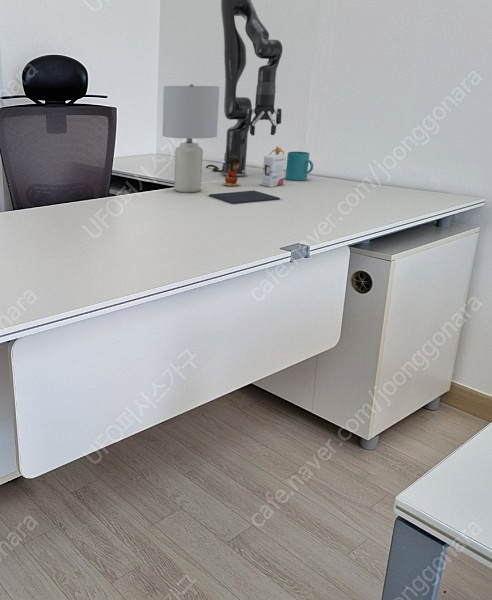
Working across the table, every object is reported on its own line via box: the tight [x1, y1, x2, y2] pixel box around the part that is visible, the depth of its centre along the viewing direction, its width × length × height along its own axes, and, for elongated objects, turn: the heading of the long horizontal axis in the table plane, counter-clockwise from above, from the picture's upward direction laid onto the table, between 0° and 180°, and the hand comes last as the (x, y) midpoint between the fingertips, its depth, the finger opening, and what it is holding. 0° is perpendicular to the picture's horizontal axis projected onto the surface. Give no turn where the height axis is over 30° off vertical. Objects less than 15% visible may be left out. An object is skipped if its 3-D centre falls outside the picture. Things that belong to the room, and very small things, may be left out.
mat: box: [208, 190, 281, 205], centre depth 217 cm, size 16×20×1 cm
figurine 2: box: [268, 146, 285, 156], centre depth 270 cm, size 8×6×12 cm
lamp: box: [162, 83, 220, 193], centre depth 223 cm, size 20×20×39 cm
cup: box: [284, 151, 314, 182], centre depth 253 cm, size 9×12×11 cm
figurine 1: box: [224, 155, 241, 187], centre depth 239 cm, size 6×6×12 cm
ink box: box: [261, 154, 287, 188], centre depth 240 cm, size 9×5×12 cm, turn 129°
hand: (262, 135), depth 244 cm, fingers open, 8 cm apart
